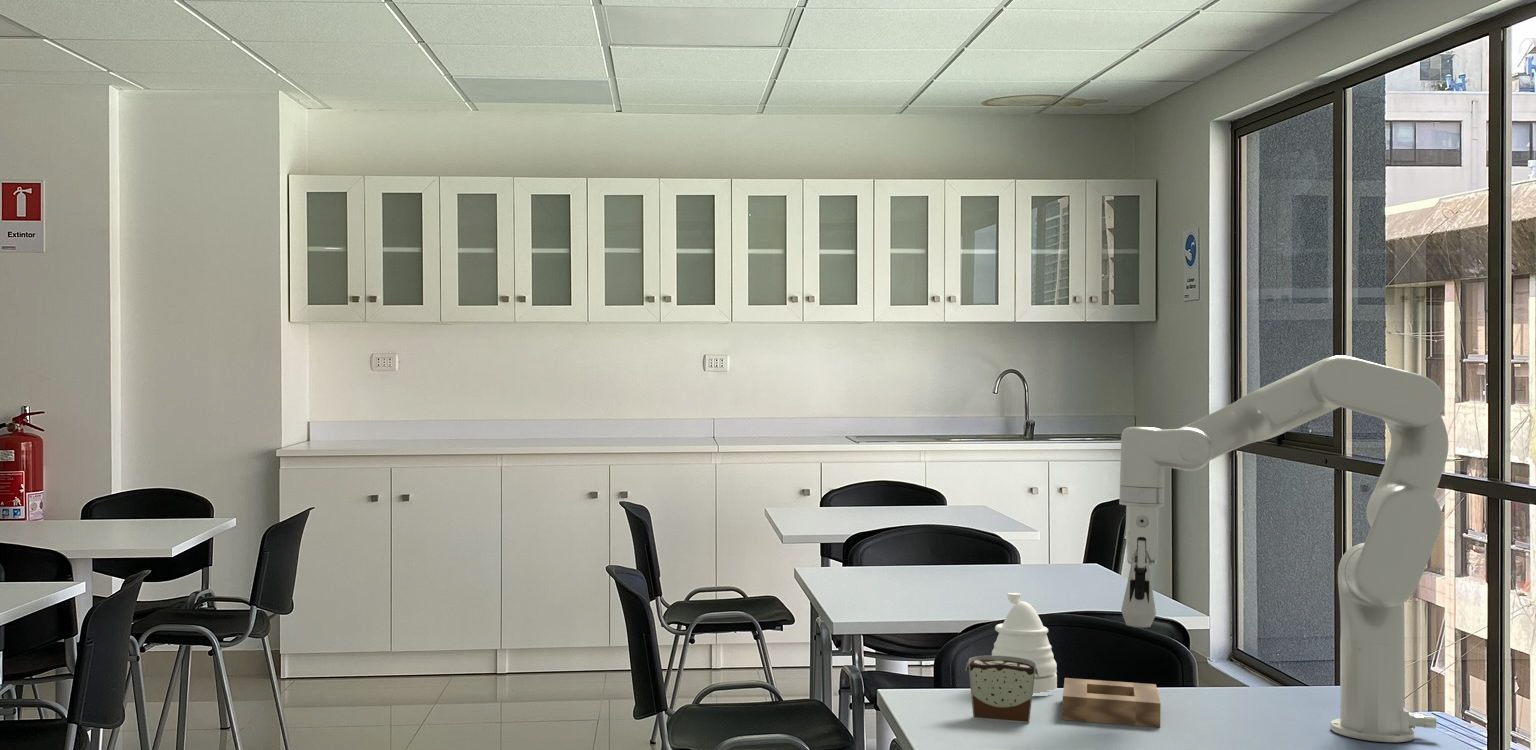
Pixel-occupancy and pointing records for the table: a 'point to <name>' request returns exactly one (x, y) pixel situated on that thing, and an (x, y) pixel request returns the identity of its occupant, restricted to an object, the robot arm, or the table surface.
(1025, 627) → the honey pot
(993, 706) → the food container
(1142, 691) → the brown wooden square frame
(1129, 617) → the salt shaker
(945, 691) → the table surface
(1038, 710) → the table surface
